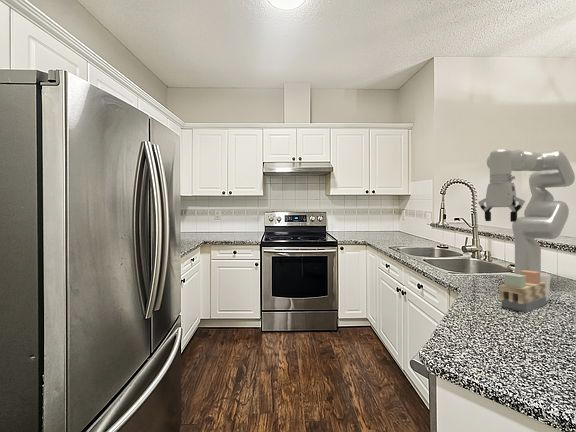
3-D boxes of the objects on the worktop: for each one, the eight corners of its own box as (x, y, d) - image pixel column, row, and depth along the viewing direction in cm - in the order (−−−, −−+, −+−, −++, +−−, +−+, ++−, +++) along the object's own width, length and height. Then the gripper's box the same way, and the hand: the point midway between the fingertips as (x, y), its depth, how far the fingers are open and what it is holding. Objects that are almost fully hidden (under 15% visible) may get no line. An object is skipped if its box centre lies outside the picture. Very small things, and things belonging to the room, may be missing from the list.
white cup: (546, 297, 128) (547, 272, 128) (553, 303, 121) (553, 276, 121) (522, 295, 131) (522, 271, 131) (527, 300, 124) (527, 275, 124)
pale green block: (510, 284, 118) (510, 273, 118) (525, 286, 114) (525, 275, 114) (504, 285, 116) (504, 274, 116) (520, 288, 112) (520, 276, 112)
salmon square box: (524, 280, 124) (524, 269, 124) (540, 282, 119) (540, 272, 119) (519, 281, 122) (519, 271, 122) (535, 284, 117) (535, 273, 117)
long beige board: (523, 292, 125) (523, 279, 125) (545, 296, 119) (545, 282, 119) (499, 299, 116) (499, 285, 116) (521, 304, 110) (521, 289, 110)
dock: (521, 299, 125) (521, 292, 125) (546, 304, 119) (546, 296, 119) (501, 306, 118) (501, 298, 118) (526, 312, 111) (526, 303, 111)
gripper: (528, 178, 128) (528, 221, 129) (483, 182, 143) (483, 220, 144) (519, 177, 125) (519, 222, 125) (474, 181, 139) (474, 221, 140)
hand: (500, 221), depth 134 cm, fingers open, 9 cm apart
